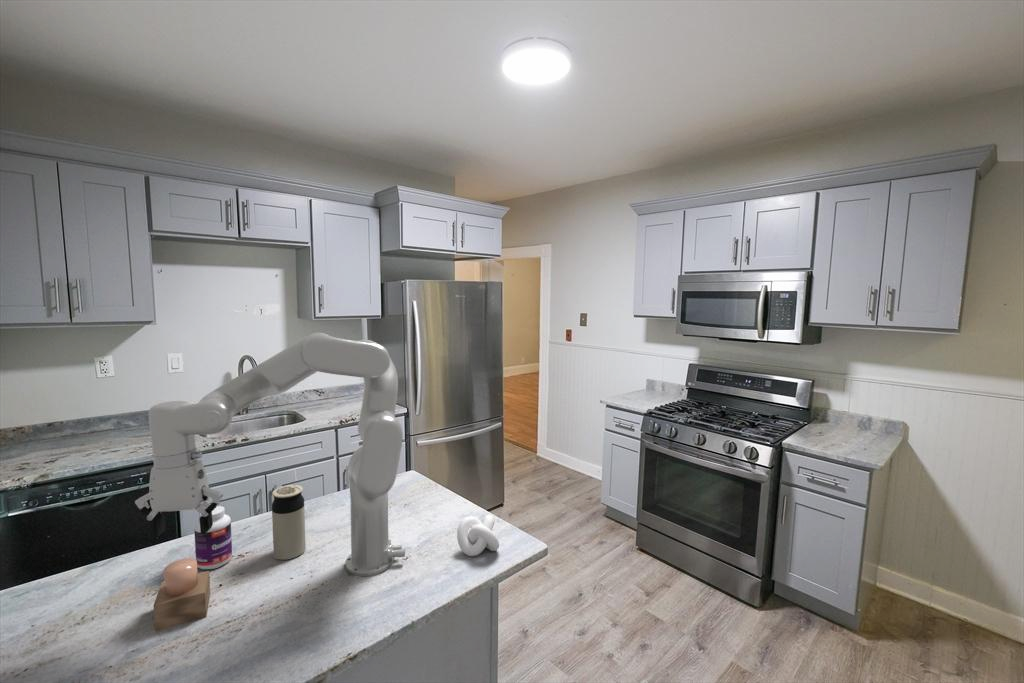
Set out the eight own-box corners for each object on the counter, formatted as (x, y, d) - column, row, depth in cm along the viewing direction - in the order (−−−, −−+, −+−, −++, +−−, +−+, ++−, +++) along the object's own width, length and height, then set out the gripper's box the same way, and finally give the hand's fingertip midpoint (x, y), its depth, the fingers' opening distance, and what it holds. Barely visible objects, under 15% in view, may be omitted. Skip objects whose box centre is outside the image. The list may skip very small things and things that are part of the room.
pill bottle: (214, 573, 115) (211, 519, 113) (188, 569, 116) (185, 516, 115) (239, 556, 123) (237, 505, 121) (214, 552, 124) (212, 502, 123)
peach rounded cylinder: (203, 577, 104) (202, 557, 103) (188, 594, 98) (187, 573, 97) (175, 579, 103) (173, 559, 103) (158, 596, 97) (157, 575, 97)
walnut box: (210, 594, 107) (209, 570, 107) (206, 617, 99) (204, 592, 99) (163, 606, 103) (161, 581, 102) (155, 632, 95) (153, 605, 94)
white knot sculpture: (510, 548, 128) (510, 519, 127) (481, 567, 119) (481, 535, 118) (481, 535, 135) (481, 506, 134) (452, 552, 126) (452, 521, 125)
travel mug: (278, 564, 119) (275, 499, 117) (270, 551, 125) (268, 489, 123) (309, 553, 124) (307, 491, 123) (300, 541, 130) (298, 481, 128)
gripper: (226, 450, 102) (232, 521, 104) (144, 454, 100) (152, 526, 102) (208, 462, 95) (215, 538, 97) (119, 467, 93) (128, 545, 95)
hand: (183, 532), depth 100 cm, fingers open, 9 cm apart
